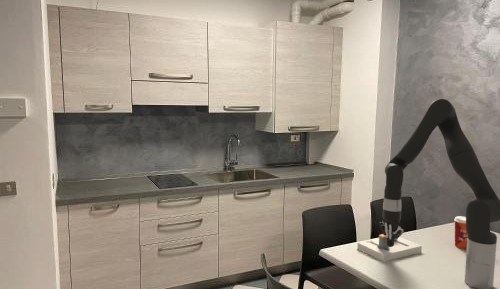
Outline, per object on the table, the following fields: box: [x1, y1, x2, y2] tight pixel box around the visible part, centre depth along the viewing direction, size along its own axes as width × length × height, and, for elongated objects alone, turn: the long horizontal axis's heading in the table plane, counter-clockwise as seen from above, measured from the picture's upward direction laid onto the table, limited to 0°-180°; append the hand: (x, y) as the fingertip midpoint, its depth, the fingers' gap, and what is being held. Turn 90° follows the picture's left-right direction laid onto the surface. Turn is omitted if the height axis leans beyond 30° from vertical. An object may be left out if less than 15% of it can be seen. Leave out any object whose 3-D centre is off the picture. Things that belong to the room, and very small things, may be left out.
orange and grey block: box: [377, 233, 390, 249], centre depth 166 cm, size 4×3×6 cm
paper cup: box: [454, 215, 468, 250], centre depth 176 cm, size 8×8×14 cm
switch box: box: [357, 236, 423, 262], centre depth 171 cm, size 24×16×3 cm, turn 117°
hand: (390, 246), depth 163 cm, fingers closed
